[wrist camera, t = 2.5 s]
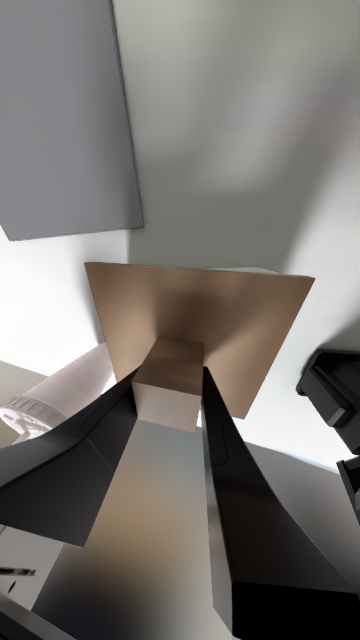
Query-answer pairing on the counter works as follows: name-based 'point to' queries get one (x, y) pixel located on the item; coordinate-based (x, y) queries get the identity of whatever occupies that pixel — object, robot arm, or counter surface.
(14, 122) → the mat
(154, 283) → the lid
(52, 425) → the smoothie
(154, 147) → the counter surface
